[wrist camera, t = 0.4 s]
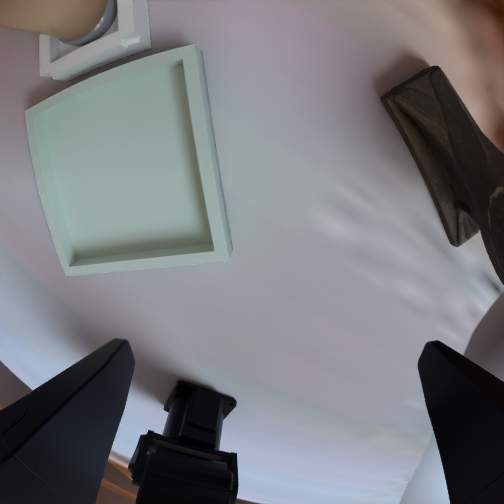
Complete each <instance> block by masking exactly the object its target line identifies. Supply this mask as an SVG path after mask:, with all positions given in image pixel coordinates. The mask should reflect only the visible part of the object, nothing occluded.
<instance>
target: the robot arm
mask: <svg viewBox="0 0 504 504" xmlns="http://www.w3.org/2000/svg"><path fill="white" fill-rule="evenodd" d="M134 367H135V360H134V357H133V353H132V350H131V347H130V344H129V342H128V341H127V340H125V339H119V338H115V339H113V340H111V341H110V342H108V343H107V344H105V345H103V346H102V347H100V348H99V349H97V350H96V351H94V352H92V353H91V354H89V355H88V356H86V357H85V358H83V359H81V360H80V361H78V362H77V363H75V364H74V365H72V366H71V367H69V368H67V369H66V370H64V371H63V372H61V373H60V374H58V375H56V376H55V377H53V378H52V379H50V380H49V381H47V382H46V383H44V384H42V385H41V386H39V387H38V388H36V389H35V390H33V391H31V392H30V394H27V395H25V396H24V397H22V398H20V399H19V400H17V401H16V402H14V403H12V404H11V405H9V406H7V407H5V408H3V409H2V410H0V504H95V502H96V498H97V495H98V491H99V487H100V484H101V480H102V477H103V474H104V470H105V467H106V464H107V460H108V457H109V454H110V451H111V448H112V445H113V442H114V439H115V436H116V433H117V430H118V427H119V424H120V421H121V418H122V415H123V412H124V409H125V405H126V401H127V396H128V392H129V388H130V383H131V379H132V375H133V371H134ZM418 371H419V375H420V379H421V384H422V388H423V393H424V398H425V402H426V407H427V410H428V414H429V417H430V420H431V424H432V427H433V431H434V434H435V438H436V442H437V445H438V449H439V453H440V457H441V461H442V465H443V470H444V474H445V479H446V484H447V489H448V494H449V500H450V504H504V382H503V381H501V380H500V379H498V378H497V377H495V376H494V375H492V374H491V373H489V372H488V371H486V370H484V369H483V368H481V367H480V366H478V365H477V364H475V363H474V362H472V361H470V360H469V359H467V358H466V357H464V356H463V355H461V354H459V353H458V352H456V351H455V350H453V349H452V348H450V347H448V346H447V345H445V344H444V343H442V342H440V341H438V340H436V341H429V342H427V343H426V344H425V346H424V349H423V351H422V353H421V356H420V358H419V360H418ZM236 404H237V401H236V400H234V399H231V398H228V397H225V396H222V395H219V394H217V393H214V392H211V391H208V390H206V389H203V388H200V387H198V386H195V385H192V384H190V383H187V382H185V381H182V380H179V381H178V382H177V383H176V385H175V387H174V389H173V391H172V393H171V394H170V396H169V398H168V400H167V402H166V404H165V406H164V410H165V411H166V412H169V414H168V417H167V421H166V424H165V428H164V431H163V435H160V434H157V433H154V431H151V430H148V433H147V434H146V435H141V436H140V439H139V442H138V445H137V447H136V450H135V452H134V454H133V456H132V459H131V461H130V463H129V466H128V470H129V471H130V473H131V474H132V477H131V478H132V479H133V481H132V486H135V487H138V488H139V490H138V494H137V498H136V504H235V501H236V498H237V493H238V466H237V453H233V452H231V453H229V452H224V451H219V447H220V440H221V432H222V425H223V420H224V419H225V418H226V417H227V415H228V414H229V413H230V412H231V411H232V410H233V409H234V408H235V407H236Z"/></svg>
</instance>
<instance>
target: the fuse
mask: <svg viewBox="0 0 504 504" xmlns="http://www.w3.org/2000/svg"><path fill="white" fill-rule="evenodd" d="M117 13H118V8H117V0H0V27H6V28H12V29H18V30H23V31H28V32H33V33H37V34H42V35H46V36H50V37H54V38H58V40H59V41H61V42H62V43H65V44H69V45H73V46H77V47H82V46H85V45H87V44H89V43H91V42H93V41H96V40H98V39H99V38H101V37H102V36H103V35H104V34H105V33H106V32H107V31H108V30H109V28H110V27H111V26H112V24H113V22H114V20H115V18H116V16H117Z"/></svg>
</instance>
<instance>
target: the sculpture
mask: <svg viewBox="0 0 504 504" xmlns="http://www.w3.org/2000/svg"><path fill="white" fill-rule="evenodd" d="M380 98H381V101H382V103H383V104H384V106H385V108H386V110H387V111H388V113H389V115H390V116H391V118H392V120H393V121H394V123H395V125H396V126H397V128H398V130H399V132H400V133H401V135H402V137H403V139H404V141H405V142H406V144H407V146H408V148H409V150H410V152H411V154H412V156H413V158H414V160H415V161H416V163H417V165H418V167H419V169H420V171H421V174H422V176H423V178H424V180H425V182H426V184H427V187H428V189H429V191H430V193H431V196H432V198H433V200H434V203H435V205H436V208H437V210H438V212H439V215H440V218H441V220H442V223H443V225H444V228H445V231H446V233H447V236H448V239H449V241H450V243H451V245H453V246H455V247H459V246H460V245H462V244H463V243H464V242H466V241H467V240H469V239H470V238H471V237H472V236H474V235H475V234H477V233H478V232H479V231H481V235H482V239H483V242H484V245H485V248H486V250H487V253H488V255H489V258H490V260H491V262H492V265H493V267H494V269H495V272H496V274H497V275H498V277H499V279H500V281H501V282H502V284H503V285H504V154H503V153H502V152H501V151H500V150H499V149H498V148H497V147H496V146H495V145H494V144H493V143H492V142H491V141H490V140H489V139H488V138H487V137H486V136H485V135H484V134H483V132H482V131H481V130H480V128H479V127H478V125H477V124H476V122H475V120H474V119H473V117H472V116H471V114H470V113H469V111H468V109H467V108H466V106H465V105H464V103H463V102H462V100H461V99H460V97H459V96H458V94H457V93H456V91H455V90H454V88H453V86H452V85H451V83H450V82H449V80H448V78H447V77H446V75H445V74H444V72H443V71H442V70H441V68H440V67H439V66H431V67H429V68H427V69H424V70H422V71H420V72H419V73H418V74H416V75H415V76H413V77H412V78H410V79H408V80H407V81H405V82H403V83H401V84H400V85H398V86H397V87H394V88H392V89H391V90H390V91H389V92H387V93H386V94H385V95H383V96H382V97H380Z"/></svg>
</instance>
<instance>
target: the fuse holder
mask: <svg viewBox="0 0 504 504" xmlns="http://www.w3.org/2000/svg"><path fill="white" fill-rule="evenodd" d="M117 8H118V13H117V16H116V18H115V20H114V22H113V24H112V26H111V27H110V28H109V30H108V31H107V32H106V33H105V34H104V35H103V36H102V37H101V38H99V39H98V40H96V41H93V42H91V43H89V44H87V45H85V46H82V47H77V46H73V45H69V44H65V43H62V42H61V41H59V40H58V38H54V37H50V36H46V35H42V34H40V37H39V59H40V76H43V77H53V80H63V81H70V80H72V79H74V78H76V77H78V76H80V75H83V74H85V73H87V72H89V71H92V70H94V69H96V68H99V67H101V66H103V65H106V64H108V63H111V62H113V61H116V60H119V59H121V58H124V57H127V56H130V55H133V54H135V53H138V52H141V51H145V50H148V49H151V38H150V27H149V16H148V2H147V0H117Z"/></svg>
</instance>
